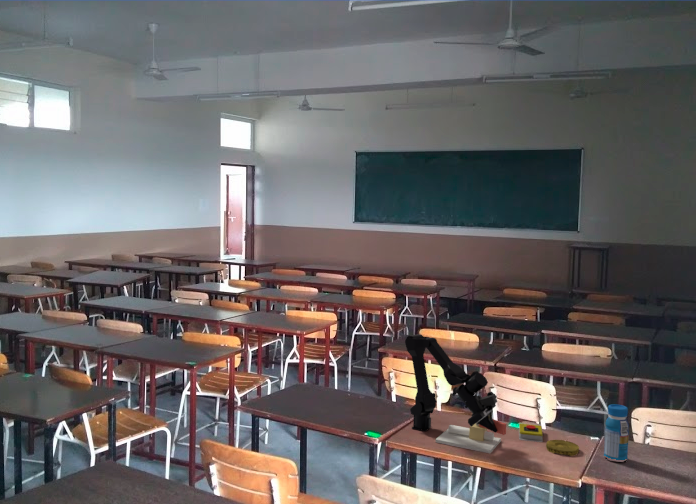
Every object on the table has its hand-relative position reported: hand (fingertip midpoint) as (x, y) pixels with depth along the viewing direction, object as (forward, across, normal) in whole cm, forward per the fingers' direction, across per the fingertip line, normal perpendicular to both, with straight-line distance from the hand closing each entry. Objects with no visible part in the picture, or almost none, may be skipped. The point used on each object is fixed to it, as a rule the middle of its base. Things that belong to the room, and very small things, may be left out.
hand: (496, 431), depth 240 cm
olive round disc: (+21, +14, -10) cm, 27 cm away
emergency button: (+11, +25, 0) cm, 27 cm away
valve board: (-3, +3, +14) cm, 14 cm away
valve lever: (-2, +4, +3) cm, 5 cm away
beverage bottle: (+34, +16, -24) cm, 44 cm away
